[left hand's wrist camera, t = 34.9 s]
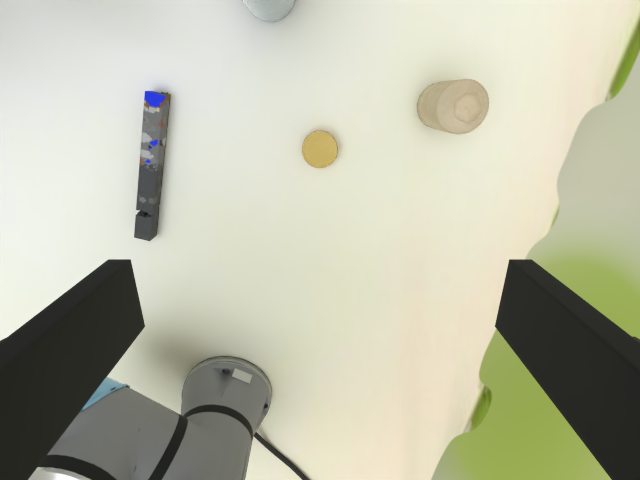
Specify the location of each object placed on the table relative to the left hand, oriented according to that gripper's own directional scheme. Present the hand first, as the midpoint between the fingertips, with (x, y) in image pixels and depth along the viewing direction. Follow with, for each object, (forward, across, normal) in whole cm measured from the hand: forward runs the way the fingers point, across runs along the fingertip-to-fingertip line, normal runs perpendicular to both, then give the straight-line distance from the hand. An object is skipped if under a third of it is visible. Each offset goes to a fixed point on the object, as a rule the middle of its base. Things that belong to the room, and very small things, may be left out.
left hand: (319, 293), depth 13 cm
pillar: (+38, +23, +2) cm, 45 cm away
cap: (+37, 0, 0) cm, 37 cm away
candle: (+38, -15, -5) cm, 42 cm away
